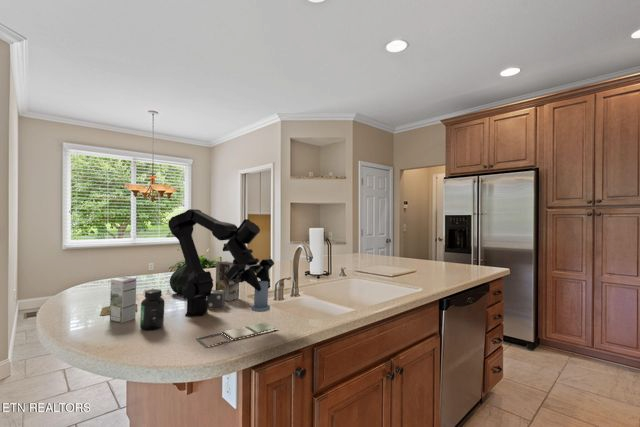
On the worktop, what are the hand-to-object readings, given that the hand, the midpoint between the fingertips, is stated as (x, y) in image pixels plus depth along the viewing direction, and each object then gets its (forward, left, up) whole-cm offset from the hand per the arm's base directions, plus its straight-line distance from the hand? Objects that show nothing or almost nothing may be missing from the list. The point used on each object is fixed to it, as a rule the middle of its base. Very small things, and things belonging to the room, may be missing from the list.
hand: (264, 289), depth 106 cm
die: (-21, +28, -14) cm, 38 cm away
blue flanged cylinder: (-1, +1, -7) cm, 7 cm away
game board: (-7, -3, -14) cm, 16 cm away
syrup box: (-49, +11, -14) cm, 52 cm away
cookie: (-56, +23, -14) cm, 63 cm away
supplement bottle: (-36, +3, -14) cm, 39 cm away
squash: (-39, +50, -14) cm, 65 cm away
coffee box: (-19, +41, -14) cm, 48 cm away
